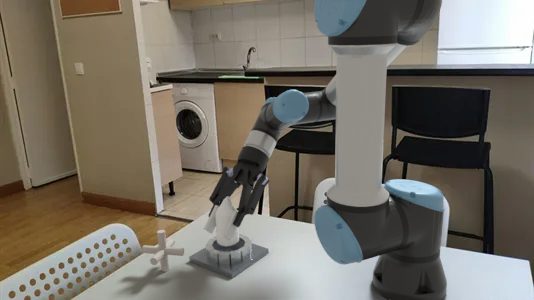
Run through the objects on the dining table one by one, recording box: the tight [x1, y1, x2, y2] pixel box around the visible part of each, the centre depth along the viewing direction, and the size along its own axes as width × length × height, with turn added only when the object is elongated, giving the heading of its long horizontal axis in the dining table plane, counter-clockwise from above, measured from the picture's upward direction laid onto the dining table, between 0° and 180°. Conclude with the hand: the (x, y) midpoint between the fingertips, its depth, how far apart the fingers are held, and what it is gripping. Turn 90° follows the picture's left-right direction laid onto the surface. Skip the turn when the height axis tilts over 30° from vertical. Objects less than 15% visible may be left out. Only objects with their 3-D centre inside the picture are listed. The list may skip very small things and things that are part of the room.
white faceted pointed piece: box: [215, 196, 240, 246], centre depth 107 cm, size 6×12×6 cm
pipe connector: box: [141, 229, 185, 272], centre depth 103 cm, size 10×10×10 cm
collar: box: [188, 233, 270, 279], centre depth 109 cm, size 14×14×4 cm
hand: (217, 234), depth 105 cm, fingers closed on white faceted pointed piece, 5 cm apart
